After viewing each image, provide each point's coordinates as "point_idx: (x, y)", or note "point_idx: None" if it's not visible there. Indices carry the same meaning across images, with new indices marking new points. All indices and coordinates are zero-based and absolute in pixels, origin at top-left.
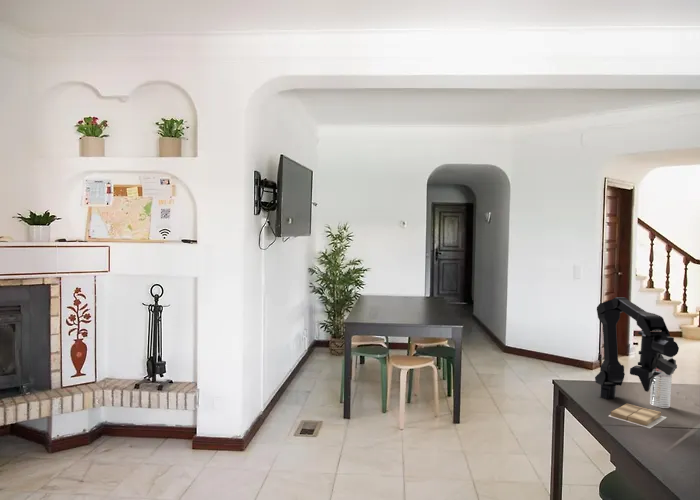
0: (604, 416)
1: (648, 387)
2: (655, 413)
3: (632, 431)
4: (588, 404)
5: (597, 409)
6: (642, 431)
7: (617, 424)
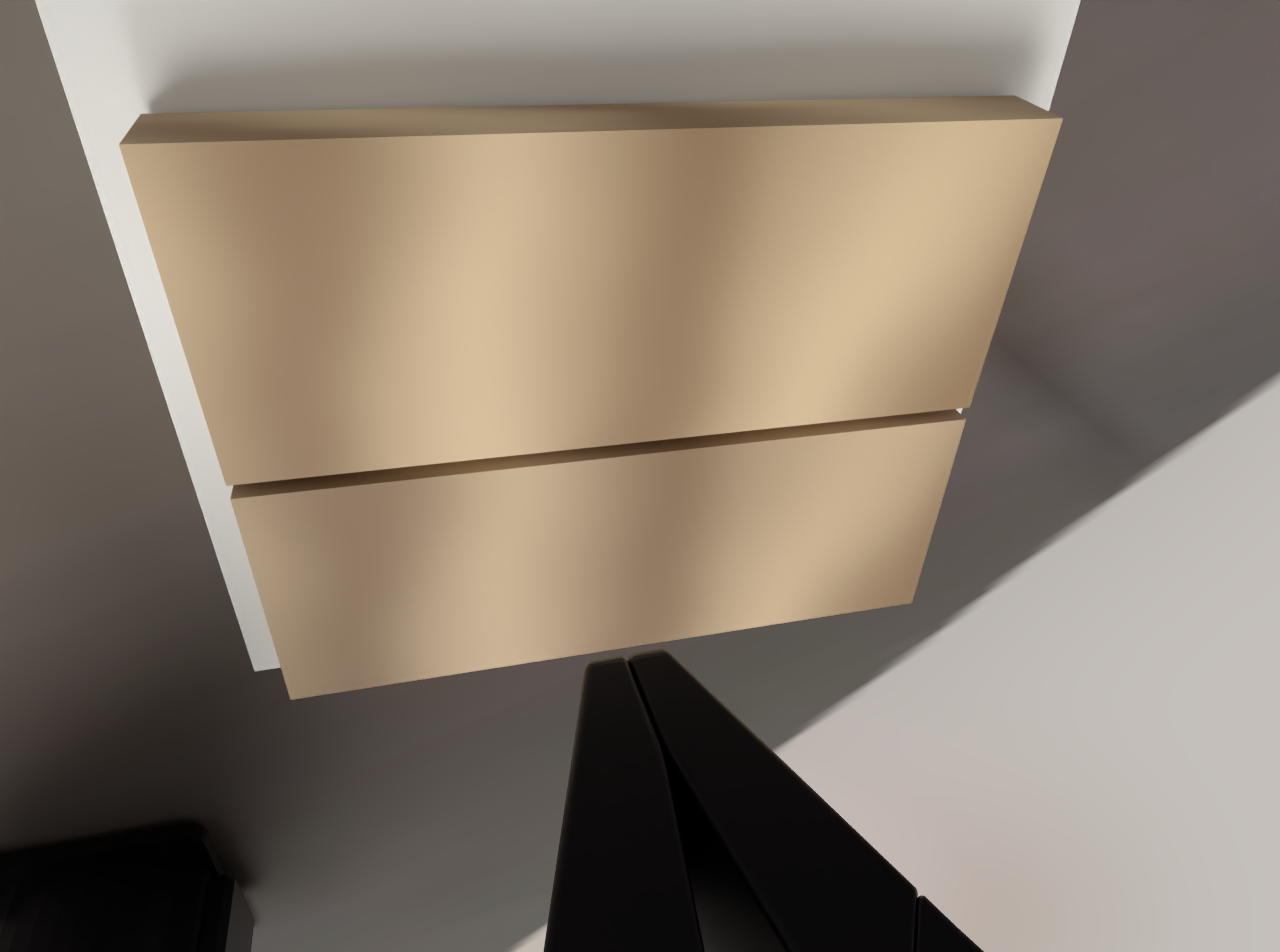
0: None
1: (775, 765)
2: (384, 189)
3: (1201, 173)
4: None
5: None
6: (1125, 72)
7: (1033, 403)
